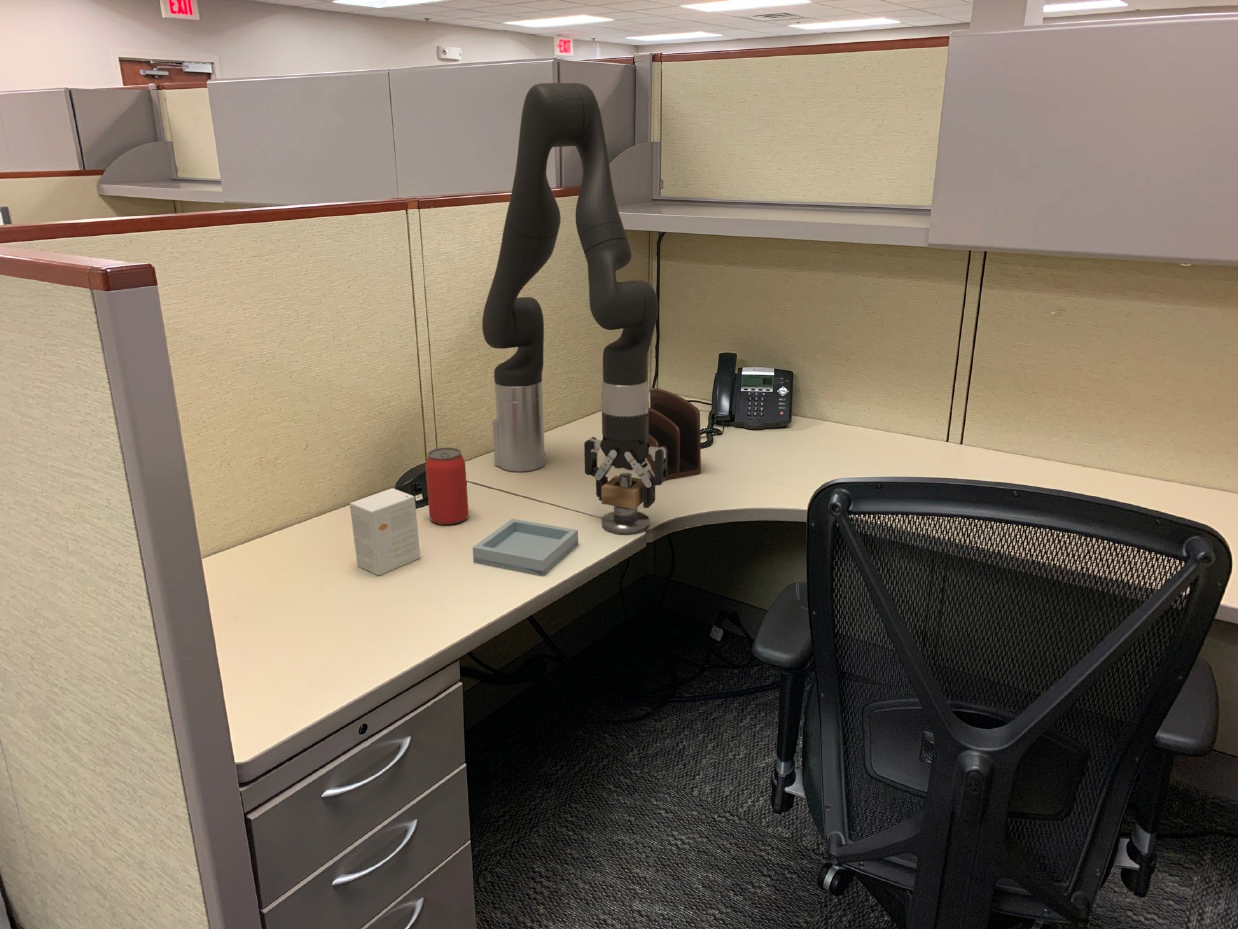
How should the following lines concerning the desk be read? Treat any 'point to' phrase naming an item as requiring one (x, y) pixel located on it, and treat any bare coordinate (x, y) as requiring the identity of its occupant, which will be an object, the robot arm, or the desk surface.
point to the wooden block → (623, 493)
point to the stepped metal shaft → (625, 515)
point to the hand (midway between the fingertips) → (625, 502)
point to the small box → (385, 531)
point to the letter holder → (675, 433)
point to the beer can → (446, 486)
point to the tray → (526, 546)
